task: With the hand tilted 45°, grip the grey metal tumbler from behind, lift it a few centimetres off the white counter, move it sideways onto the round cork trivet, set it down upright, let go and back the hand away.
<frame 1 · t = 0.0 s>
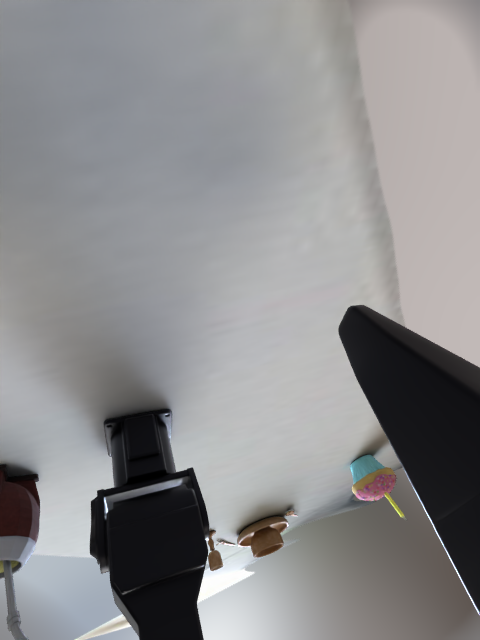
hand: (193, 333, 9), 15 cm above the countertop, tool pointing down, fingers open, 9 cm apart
mate gourd: (5, 476, 35), on the countertop
cupcake: (360, 460, 69), on the countertop
place setting: (253, 523, 75), on the countertop
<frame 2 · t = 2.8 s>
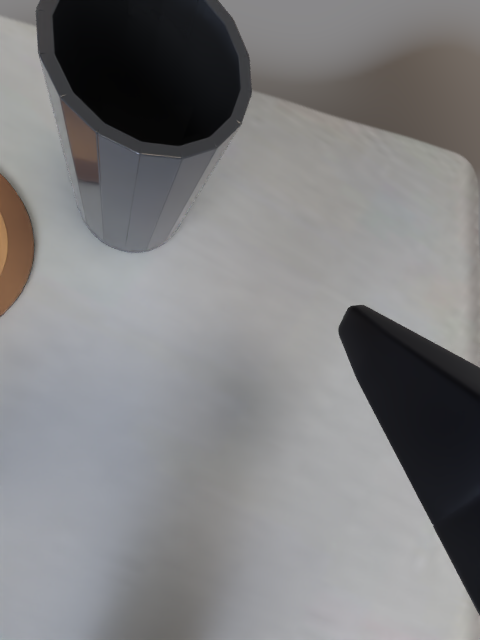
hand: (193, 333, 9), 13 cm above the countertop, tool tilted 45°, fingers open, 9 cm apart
grey metal tumbler: (131, 204, 21), on the countertop
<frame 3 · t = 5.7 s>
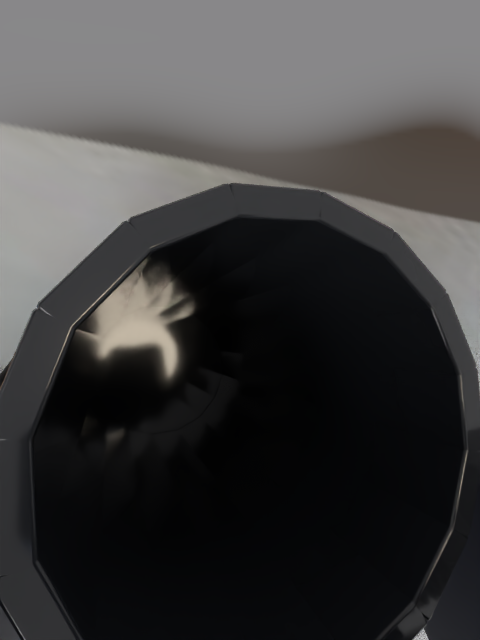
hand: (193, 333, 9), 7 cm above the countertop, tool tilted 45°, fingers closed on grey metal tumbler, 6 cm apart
grey metal tumbler: (159, 367, 15), on the countertop, touching gripper
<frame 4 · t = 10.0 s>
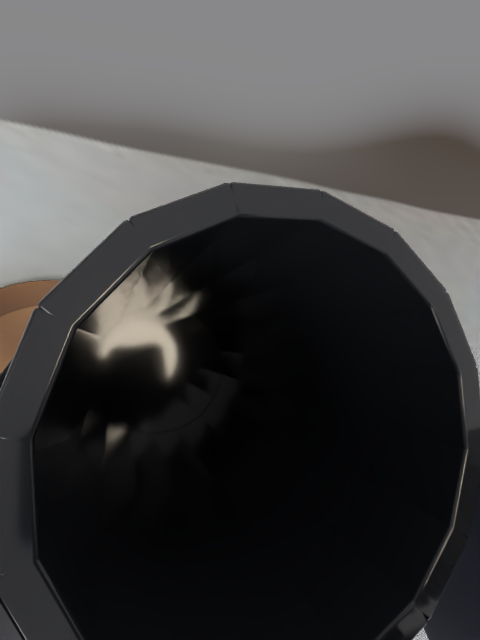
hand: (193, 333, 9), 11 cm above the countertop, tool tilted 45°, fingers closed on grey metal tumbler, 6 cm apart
trivet: (52, 392, 17), on the countertop
grey metal tumbler: (160, 367, 15), point 4 cm above the countertop, touching gripper
when the fingers open (7 cm above the countertop, at t = 14.1 s): grey metal tumbler stays where it is, resting on trivet.
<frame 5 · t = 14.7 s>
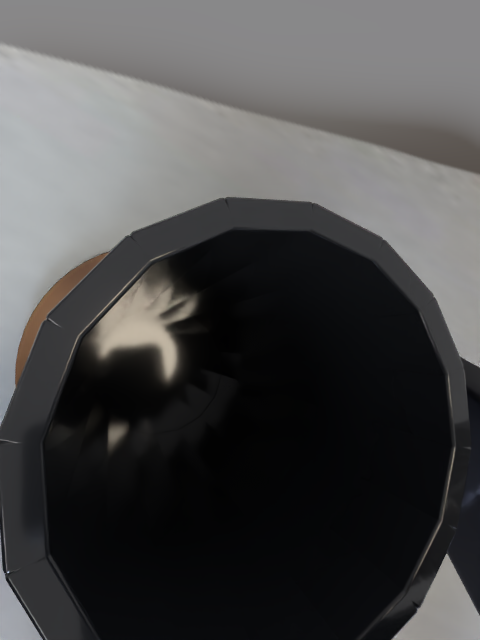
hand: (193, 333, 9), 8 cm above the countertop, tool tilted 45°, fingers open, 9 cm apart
trivet: (158, 368, 16), on the countertop
grey metal tumbler: (159, 368, 15), resting on trivet
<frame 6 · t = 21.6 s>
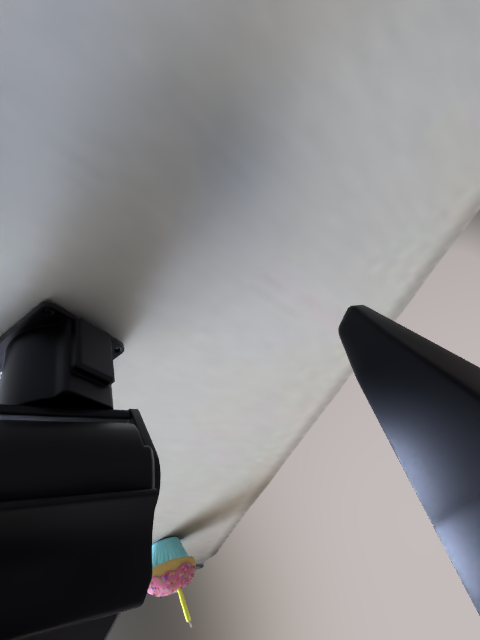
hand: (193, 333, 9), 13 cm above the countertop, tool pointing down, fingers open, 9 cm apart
cupcake: (164, 541, 59), on the countertop
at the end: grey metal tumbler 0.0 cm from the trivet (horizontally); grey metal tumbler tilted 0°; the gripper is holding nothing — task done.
